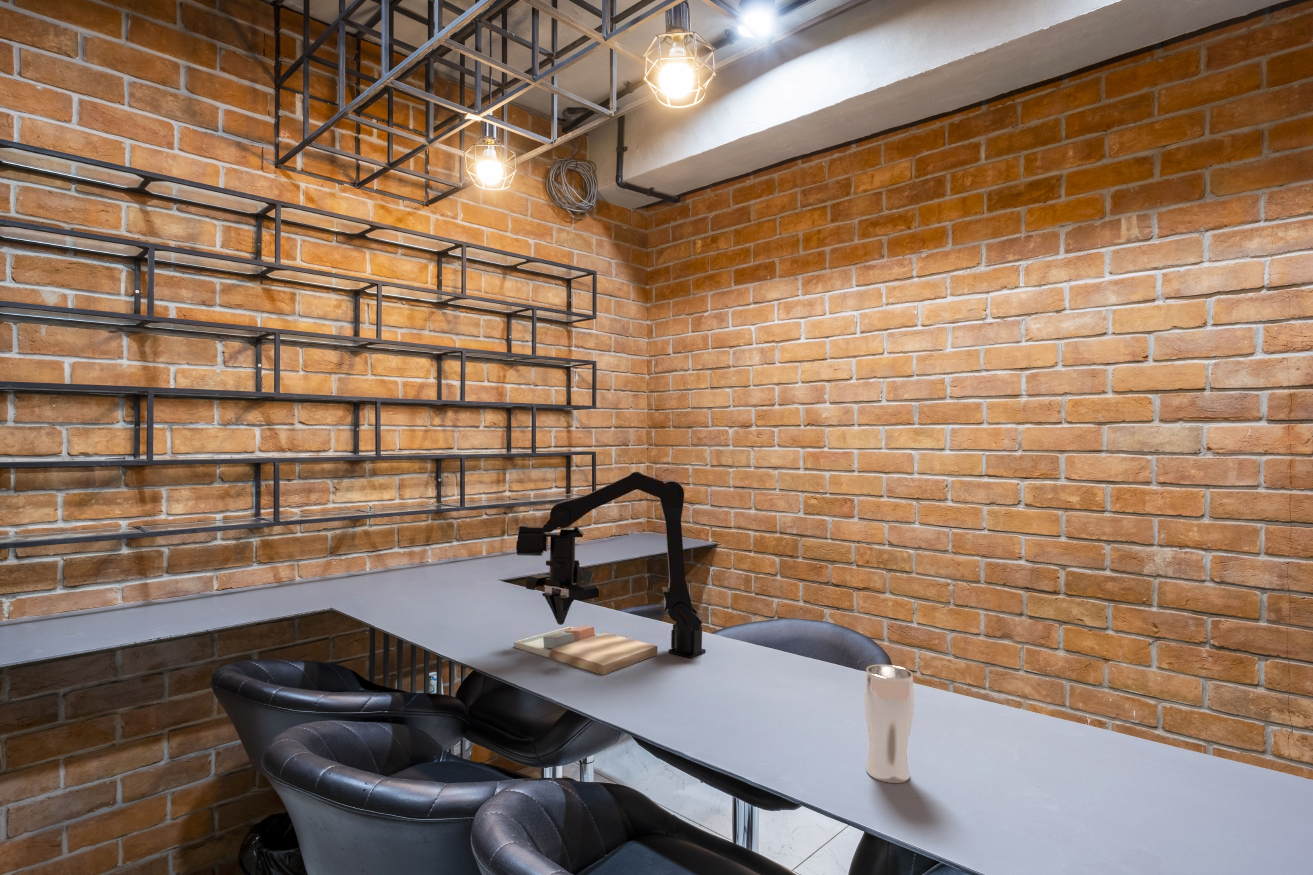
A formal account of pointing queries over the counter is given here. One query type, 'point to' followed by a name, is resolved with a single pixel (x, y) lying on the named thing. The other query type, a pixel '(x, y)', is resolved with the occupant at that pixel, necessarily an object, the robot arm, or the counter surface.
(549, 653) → the tray
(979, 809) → the counter surface
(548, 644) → the grey box
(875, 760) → the beer glass
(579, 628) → the terracotta block
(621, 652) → the birch board
